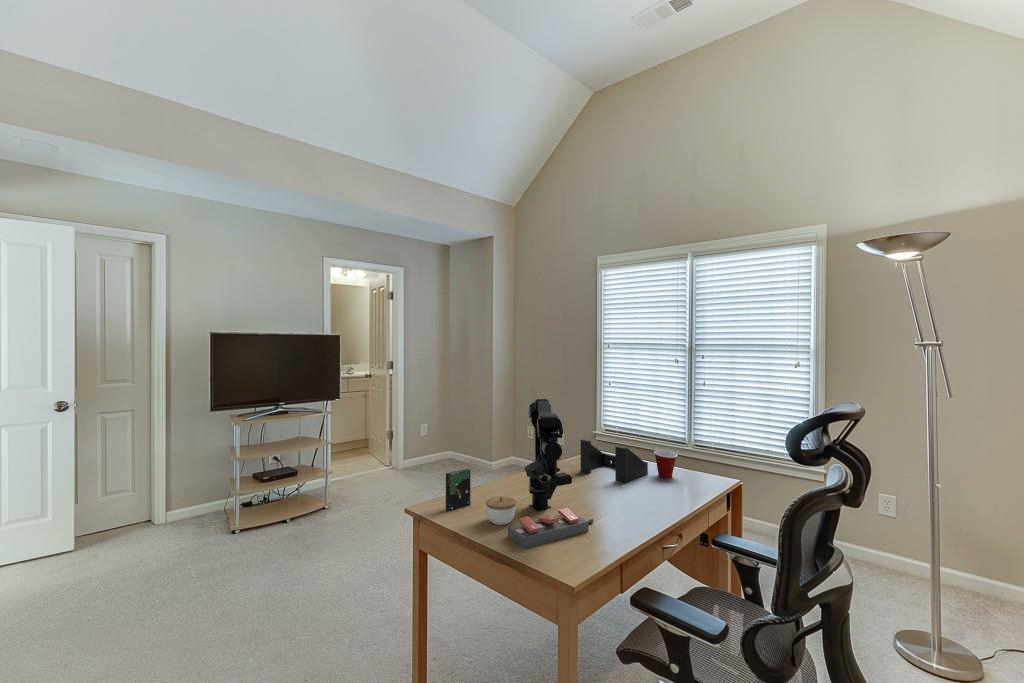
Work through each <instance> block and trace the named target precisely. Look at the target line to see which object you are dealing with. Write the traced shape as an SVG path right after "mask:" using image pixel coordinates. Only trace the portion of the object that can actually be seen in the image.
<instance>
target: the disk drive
mask: <svg viewBox="0 0 1024 683" xmlns="http://www.w3.org/2000/svg"><path fill="white" fill-rule="evenodd" d="M471 477H472V476H471V469H469V468H463V469H458V470H454V471H449V472H446V473H445V511H446V510H447V511H446V512H448V511H450V512H453V511H456V509H457V510H460V509H462V508H466V506H467V507H470V506H471ZM459 508H460V509H459ZM452 510H453V511H452Z"/></svg>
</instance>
